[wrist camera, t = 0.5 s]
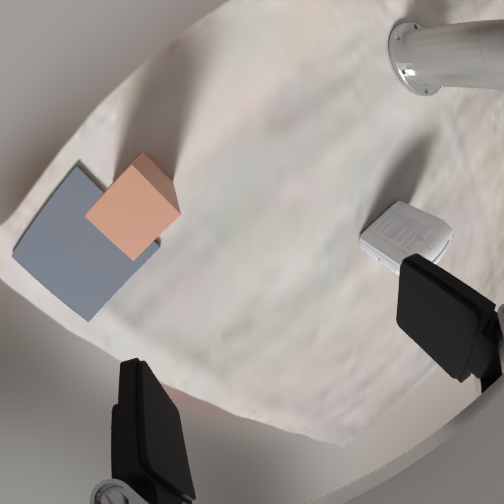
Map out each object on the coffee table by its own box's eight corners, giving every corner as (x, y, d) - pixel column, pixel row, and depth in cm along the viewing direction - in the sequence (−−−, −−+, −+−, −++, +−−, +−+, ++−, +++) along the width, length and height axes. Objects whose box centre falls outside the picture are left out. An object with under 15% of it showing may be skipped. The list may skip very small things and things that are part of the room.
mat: (78, 165, 29) (76, 166, 29) (160, 245, 36) (160, 247, 35) (13, 254, 30) (11, 256, 30) (88, 319, 37) (88, 322, 36)
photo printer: (364, 256, 46) (416, 294, 35) (353, 237, 44) (408, 274, 33) (406, 215, 45) (462, 242, 35) (398, 195, 43) (457, 220, 33)
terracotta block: (143, 150, 31) (131, 164, 19) (173, 181, 33) (180, 214, 21) (112, 182, 31) (84, 216, 19) (142, 211, 34) (133, 261, 21)
